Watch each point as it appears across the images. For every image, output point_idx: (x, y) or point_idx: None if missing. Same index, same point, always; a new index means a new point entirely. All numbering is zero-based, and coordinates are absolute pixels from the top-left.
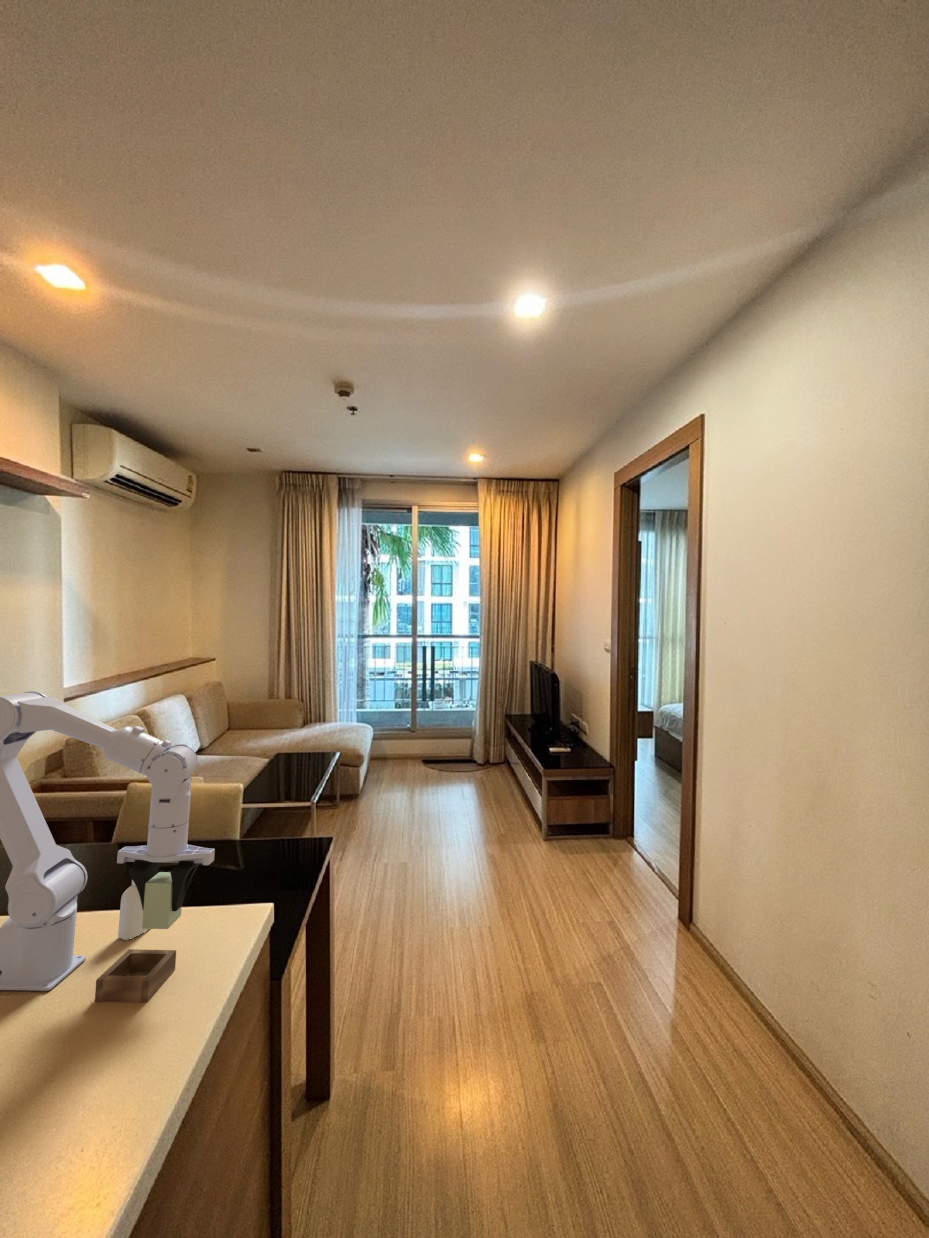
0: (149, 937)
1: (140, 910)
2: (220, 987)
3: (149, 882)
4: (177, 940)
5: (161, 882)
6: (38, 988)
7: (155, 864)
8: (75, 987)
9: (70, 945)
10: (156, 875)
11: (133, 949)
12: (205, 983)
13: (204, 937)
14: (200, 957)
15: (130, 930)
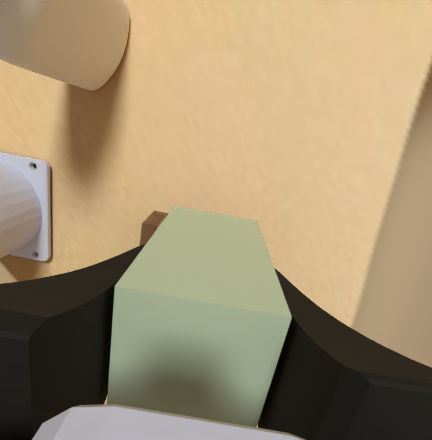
0: (146, 78)
1: (80, 50)
2: (347, 295)
3: None
4: (223, 106)
5: None
6: (29, 258)
7: (62, 390)
8: (89, 252)
9: (2, 226)
10: (121, 335)
11: (154, 226)
12: (319, 280)
13: (288, 102)
14: (294, 193)
15: (90, 83)
